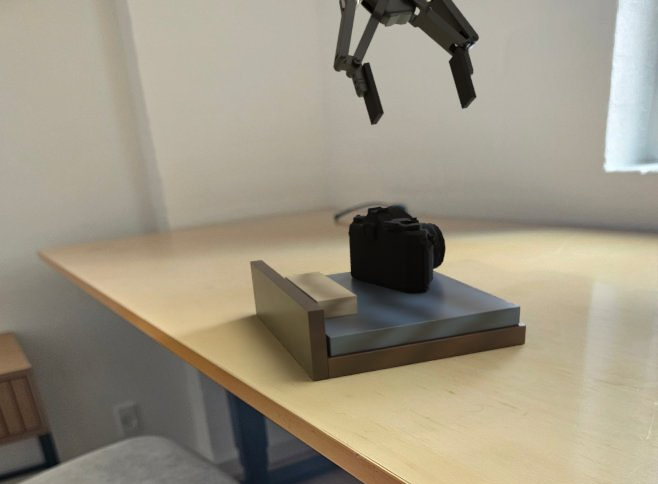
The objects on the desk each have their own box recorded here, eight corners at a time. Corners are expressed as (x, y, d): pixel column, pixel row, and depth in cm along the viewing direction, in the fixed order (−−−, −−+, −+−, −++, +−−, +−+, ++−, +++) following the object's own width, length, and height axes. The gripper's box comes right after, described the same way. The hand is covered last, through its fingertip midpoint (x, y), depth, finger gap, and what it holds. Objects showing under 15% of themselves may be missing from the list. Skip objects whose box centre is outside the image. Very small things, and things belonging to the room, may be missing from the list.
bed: (416, 289, 94) (416, 239, 91) (525, 343, 70) (529, 277, 67) (256, 313, 89) (249, 261, 86) (313, 381, 65) (307, 311, 61)
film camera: (474, 282, 79) (476, 203, 75) (409, 297, 75) (408, 214, 71) (400, 264, 91) (399, 195, 87) (340, 276, 87) (336, 205, 83)
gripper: (449, -39, 91) (490, 111, 92) (281, -20, 85) (328, 140, 86) (475, -82, 84) (520, 80, 85) (294, -66, 77) (346, 110, 79)
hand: (424, 111), depth 85 cm, fingers open, 13 cm apart
